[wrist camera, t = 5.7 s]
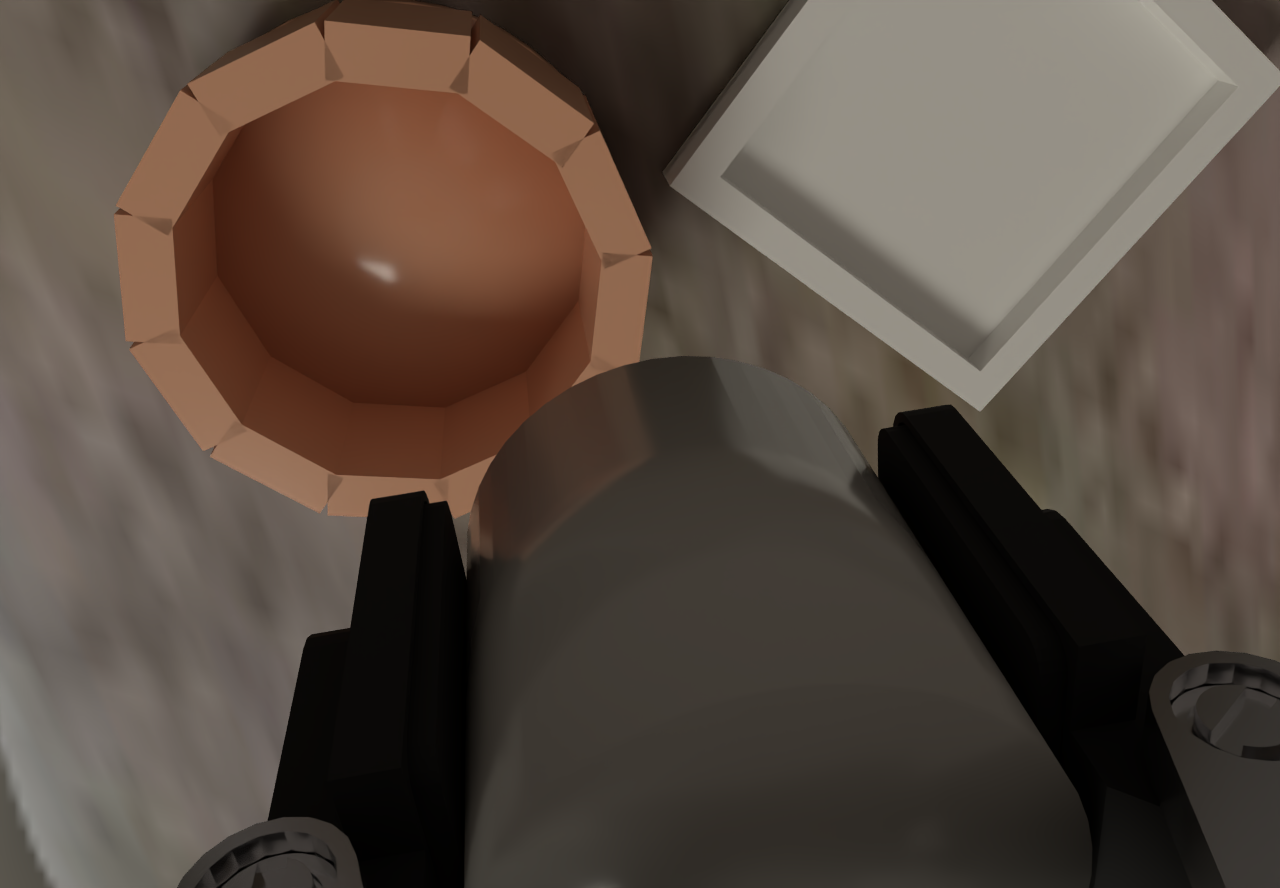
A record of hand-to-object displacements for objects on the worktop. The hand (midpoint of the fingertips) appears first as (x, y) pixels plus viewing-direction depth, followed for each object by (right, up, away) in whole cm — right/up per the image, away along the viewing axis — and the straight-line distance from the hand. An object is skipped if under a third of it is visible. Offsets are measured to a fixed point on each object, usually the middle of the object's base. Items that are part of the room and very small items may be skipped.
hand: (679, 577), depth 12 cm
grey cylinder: (0, 0, 0) cm, 1 cm away
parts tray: (+7, +9, +14) cm, 18 cm away
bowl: (-6, +6, +14) cm, 16 cm away
